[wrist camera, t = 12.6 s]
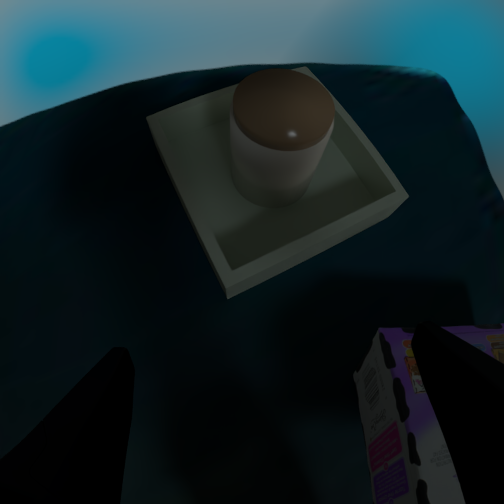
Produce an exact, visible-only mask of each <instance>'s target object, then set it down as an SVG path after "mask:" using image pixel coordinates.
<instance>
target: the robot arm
mask: <svg viewBox="0 0 504 504" xmlns="http://www.w3.org/2000/svg"><path fill="white" fill-rule="evenodd" d="M411 348H412V351H413V354H414V357H415V360H416V363H417V367H418V370H419V373H420V376H421V379H422V382H423V385H424V388H425V391H426V393H427V395H428V398H429V400H430V403H431V405H432V408H433V410H434V413H435V415H436V418H437V420H438V423H439V426H440V428H441V431H442V434H443V436H444V439H445V442H446V444H447V447H448V450H449V453H450V456H451V459H452V462H453V465H454V468H455V471H456V474H457V477H458V480H459V483H460V487H461V490H462V494H463V497H464V500H465V504H504V364H503V363H502V362H500V361H498V360H497V359H495V358H493V357H492V356H490V355H488V354H486V353H485V352H483V351H481V350H480V349H478V348H476V347H475V346H473V345H471V344H469V343H468V342H466V341H464V340H463V339H461V338H459V337H457V336H456V335H454V334H452V333H451V332H449V331H447V330H445V329H444V328H442V327H440V326H438V325H437V324H435V323H433V322H431V321H423V322H420V323H418V324H417V327H416V329H415V332H414V335H413V337H412V340H411ZM134 376H135V369H134V365H133V363H132V360H131V357H130V355H129V352H128V350H127V348H124V347H114V348H112V349H111V350H110V351H109V352H108V353H107V354H106V355H105V356H104V357H103V358H102V359H101V360H100V361H99V362H98V363H97V364H96V365H95V366H94V367H93V368H92V369H91V370H90V371H89V372H88V373H87V374H86V375H85V376H84V377H83V378H82V379H81V380H80V381H79V382H78V383H77V384H76V386H75V387H74V388H73V389H72V390H71V391H70V392H69V393H68V394H67V395H66V396H65V397H64V398H63V399H62V400H61V401H60V402H59V403H58V404H57V405H56V406H55V407H54V408H53V409H52V410H51V411H50V412H49V414H48V415H47V416H46V417H45V418H44V419H43V421H41V422H40V423H39V424H38V425H37V426H36V427H35V428H34V429H33V430H32V431H31V432H30V433H29V434H28V435H27V436H26V437H25V438H24V439H23V440H22V441H21V442H20V443H19V444H18V445H17V446H15V447H14V448H13V449H12V450H11V451H10V452H9V453H7V454H6V455H5V456H4V457H3V458H2V459H0V504H120V500H121V491H122V482H123V474H124V467H125V459H126V452H127V445H128V439H129V433H130V426H131V420H132V408H133V391H134Z"/></svg>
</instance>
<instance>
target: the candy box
mask: <svg viewBox="0 0 504 504" xmlns="http://www.w3.org/2000/svg"><path fill="white" fill-rule="evenodd" d="M442 328H444V329H445V330H447V331H449V332H451V333H452V334H454V335H456V336H457V337H459V338H461V339H463V340H464V341H466V342H468V343H469V344H471V345H473V346H475V347H476V348H478V349H480V350H481V351H483V352H485V353H486V354H488V355H490V356H492V357H493V358H495V359H497V360H498V361H500V362H502V363H503V364H504V323H501V324H493V325H492V324H490V325H487V324H486V325H476V326H451V327H442ZM415 329H416V328H404V327H401V328H378V331H377V333H376V335H375V337H374V338H373V340H372V342H371V344H370V346H369V348H368V350H367V352H366V353H365V355H364V357H363V358H362V360H361V361H360V363H359V365H358V366H357V368H356V370H355V372H354V374H353V378H354V383H355V389H356V394H357V399H358V404H359V410H360V416H361V421H362V428H363V433H364V440H365V446H366V452H367V460H368V467H369V473H370V480H371V488H372V496H373V504H465V500H464V497H463V494H462V490H461V487H460V483H459V480H458V477H457V474H456V471H455V468H454V465H453V462H452V459H451V456H450V453H449V450H448V447H447V444H446V442H445V439H444V436H443V434H442V431H441V428H440V426H439V423H438V420H437V418H436V415H435V413H434V410H433V408H432V405H431V403H430V400H429V398H428V395H427V393H426V391H425V388H424V385H423V382H422V379H421V376H420V373H419V370H418V367H417V363H416V360H415V357H414V354H413V351H412V348H411V340H412V337H413V335H414V332H415Z"/></svg>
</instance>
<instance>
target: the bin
mask: <svg viewBox="0 0 504 504" xmlns="http://www.w3.org/2000/svg"><path fill="white" fill-rule="evenodd" d="M292 70H293V71H297V72H301V73H303V74H306V75H308V76H310V77H312V78H313V79H315V80H316V81H318V82H319V83H320V84H322V83H321V82H320V81H319V80H318V79H317V78H316V77H315V76H314V75H313V73H312V72H311V71H310V70H309V69H308V68H307V67H301V68H297V69H292ZM322 85H323V84H322ZM237 86H238V84H236V85H233V86H230V87H226V88H223V89H220V90H217V91H214V92H211V93H208V94H205V95H202V96H199V97H197V98H194V99H191V100H188V101H186V102H183V103H180V104H178V105H175V106H172V107H170V108H167V109H165V110H162V111H160V112H157V113H155V114H153V115H150V116H148V117H146V119H147V122H148V125H149V128H150V131H151V134H152V137H153V140H154V143H155V146H156V148H157V150H158V153H159V155H160V157H161V159H162V162H163V164H164V166H165V168H166V171H167V173H168V175H169V177H170V180H171V182H172V184H173V186H174V188H175V191H176V193H177V195H178V197H179V199H180V201H181V204H182V206H183V208H184V210H185V212H186V214H187V217H188V219H189V221H190V223H191V225H192V227H193V229H194V231H195V234H196V236H197V238H198V240H199V242H200V244H201V246H202V248H203V250H204V252H205V254H206V257H207V259H208V261H209V263H210V265H211V267H212V269H213V271H214V273H215V275H216V277H217V279H218V281H219V283H220V285H221V287H222V289H223V291H224V293H225V295H226V297H227V299H229V298H231V297H233V296H235V295H237V294H239V293H241V292H243V291H245V290H247V289H249V288H251V287H253V286H255V285H257V284H259V283H261V282H263V281H265V280H267V279H269V278H271V277H273V276H275V275H277V274H279V273H281V272H283V271H285V270H287V269H289V268H291V267H293V266H295V265H297V264H299V263H301V262H303V261H305V260H307V259H309V258H311V257H313V256H315V255H317V254H319V253H321V252H323V251H325V250H327V249H329V248H330V247H332V246H334V245H336V244H338V243H340V242H342V241H344V240H346V239H348V238H350V237H352V236H353V235H355V234H357V233H359V232H361V231H363V230H365V229H367V228H369V227H370V226H372V225H374V224H376V223H378V222H380V221H382V220H384V219H385V218H387V217H389V216H390V215H391V214H392V213H393V212H394V211H395V210H396V209H397V208H398V207H399V206H400V205H401V204H402V203H403V202H404V201H405V200H406V199H407V198H408V197H409V196H408V194H407V193H406V191H405V190H404V188H403V187H402V185H401V184H400V182H399V181H398V179H397V178H396V176H395V175H394V174H393V172H392V171H391V169H390V168H389V166H388V165H387V164H386V162H385V161H384V159H383V158H382V157H381V155H380V154H379V153H378V151H377V150H376V149H375V147H374V146H373V145H372V143H371V142H370V141H369V139H368V138H367V137H366V135H365V134H364V133H363V132H362V130H361V129H360V128H359V127H358V125H357V124H356V123H355V122H354V120H353V119H352V118H351V117H350V116H349V114H348V113H347V112H346V111H345V110H344V108H343V107H342V106H341V105H340V104H339V102H338V101H337V100H336V99H335V98H334V97H333V96H332V94H331V93H330V92H329V91H328V90H327V89H326V90H327V91H328V92H329V94H330V95H331V97H332V99H333V102H334V105H335V116H334V127H333V130H332V133H331V135H330V138H329V140H328V142H327V145H326V147H325V150H324V152H323V154H322V157H321V159H320V161H319V164H318V166H317V168H316V171H315V173H314V175H313V177H312V180H311V182H310V184H309V187H308V189H307V191H306V192H305V194H304V195H303V196H302V197H301V198H300V199H299V200H298V201H296V202H295V203H293V204H291V205H288V206H285V207H281V208H266V207H261V206H258V205H255V204H253V203H251V202H249V201H248V200H246V199H245V198H244V197H243V196H242V195H241V194H240V193H239V192H238V191H237V189H236V188H235V186H234V184H233V181H232V176H231V148H230V104H231V102H232V99H233V95H234V92H235V89H236V87H237ZM323 86H324V85H323Z"/></svg>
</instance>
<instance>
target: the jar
mask: <svg viewBox="0 0 504 504" xmlns="http://www.w3.org/2000/svg"><path fill="white" fill-rule="evenodd" d="M334 116H335V105H334V102H333V99H332V97H331V95H330V94H329V92H328V91H327V90H326V88H325V87H324V86H323V85H322V84H320V83H319V82H318V81H316V80H315V79H313V78H312V77H310V76H308V75H306V74H303V73H301V72H297V71H293V70H289V69H266V70H262V71H258V72H255V73H253V74H251V75H249V76H247V77H246V78H244V79H243V80H242V81H241V82H240V83H239V84H238V86H237V87H236V89H235V92H234V95H233V99H232V102H231V104H230V148H231V176H232V181H233V184H234V186H235V188H236V189H237V191H238V192H239V193H240V194H241V195H242V196H243V197H244V198H245V199H246V200H248V201H249V202H251V203H253V204H255V205H258V206H261V207H266V208H281V207H285V206H288V205H291V204H293V203H295V202H296V201H298V200H299V199H300V198H301V197H302V196H303V195H304V194H305V192H306V191H307V189H308V187H309V184H310V182H311V180H312V177H313V175H314V173H315V171H316V168H317V166H318V164H319V161H320V159H321V157H322V154H323V152H324V150H325V147H326V145H327V142H328V140H329V138H330V135H331V133H332V130H333V127H334Z"/></svg>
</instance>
